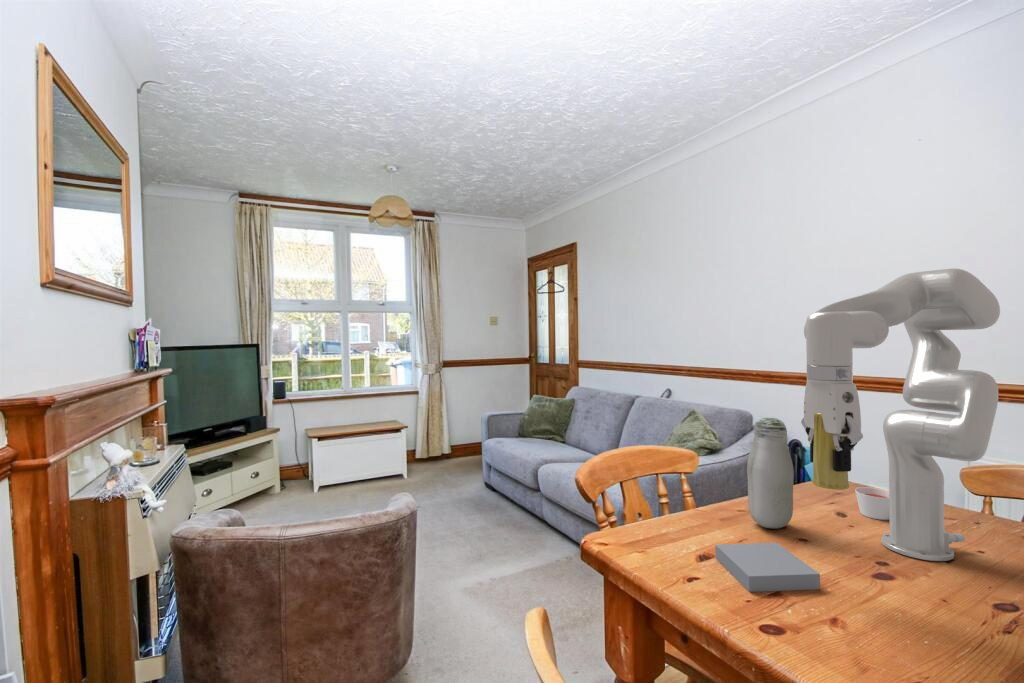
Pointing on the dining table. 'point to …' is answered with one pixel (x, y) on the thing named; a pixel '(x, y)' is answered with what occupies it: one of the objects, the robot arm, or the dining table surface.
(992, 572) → the dining table surface
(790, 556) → the plinth
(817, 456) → the vase
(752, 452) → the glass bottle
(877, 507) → the candle
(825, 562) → the dining table surface
